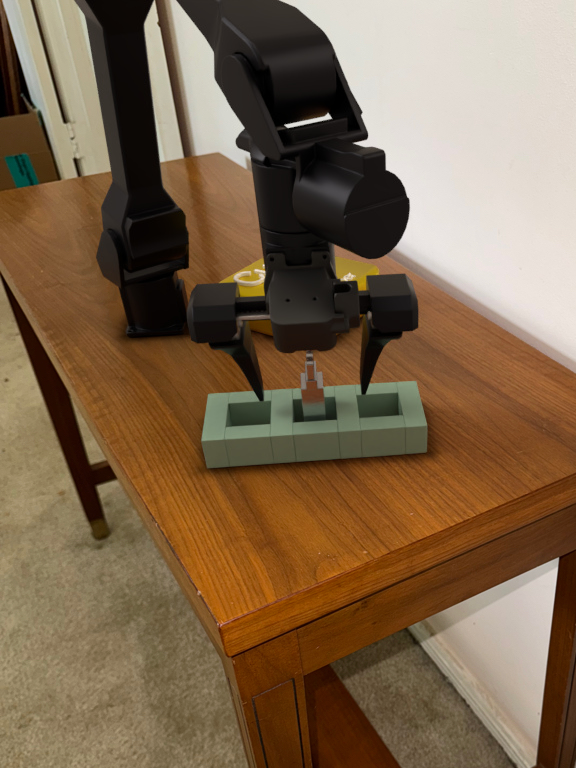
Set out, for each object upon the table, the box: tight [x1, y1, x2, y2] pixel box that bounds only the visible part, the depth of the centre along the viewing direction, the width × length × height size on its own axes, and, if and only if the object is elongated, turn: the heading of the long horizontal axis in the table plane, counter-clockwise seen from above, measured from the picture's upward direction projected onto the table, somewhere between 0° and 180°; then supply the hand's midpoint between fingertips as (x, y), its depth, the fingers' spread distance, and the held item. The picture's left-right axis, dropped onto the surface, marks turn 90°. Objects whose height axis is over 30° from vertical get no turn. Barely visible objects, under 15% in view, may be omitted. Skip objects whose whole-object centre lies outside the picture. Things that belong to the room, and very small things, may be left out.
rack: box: [200, 380, 428, 469], centre depth 71 cm, size 20×8×3 cm, turn 97°
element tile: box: [218, 255, 381, 337], centre depth 91 cm, size 15×15×5 cm
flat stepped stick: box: [299, 350, 326, 422], centre depth 69 cm, size 2×4×8 cm, turn 6°
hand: (312, 395), depth 69 cm, fingers open, 9 cm apart
